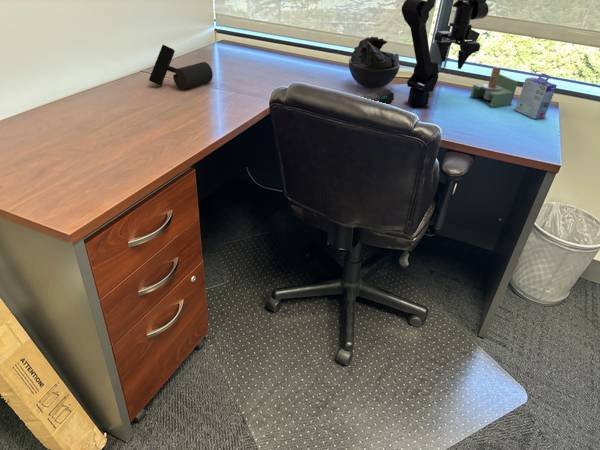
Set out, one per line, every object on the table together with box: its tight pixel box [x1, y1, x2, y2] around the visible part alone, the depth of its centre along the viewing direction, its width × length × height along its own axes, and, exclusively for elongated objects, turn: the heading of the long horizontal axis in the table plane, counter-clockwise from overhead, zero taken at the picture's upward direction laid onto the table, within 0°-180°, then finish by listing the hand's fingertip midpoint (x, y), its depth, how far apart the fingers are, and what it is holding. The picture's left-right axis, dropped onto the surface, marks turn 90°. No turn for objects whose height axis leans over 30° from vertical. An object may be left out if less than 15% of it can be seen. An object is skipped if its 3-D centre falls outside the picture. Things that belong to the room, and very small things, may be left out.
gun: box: [362, 88, 395, 105], centre depth 166 cm, size 4×20×10 cm, turn 109°
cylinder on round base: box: [482, 65, 502, 101], centre depth 179 cm, size 7×7×12 cm
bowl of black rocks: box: [348, 36, 401, 90], centre depth 184 cm, size 20×20×19 cm
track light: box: [148, 44, 214, 91], centre depth 178 cm, size 15×14×20 cm
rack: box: [470, 73, 519, 108], centre depth 181 cm, size 10×12×9 cm
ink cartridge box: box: [514, 72, 558, 120], centre depth 169 cm, size 10×6×14 cm, turn 28°
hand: (451, 65), depth 175 cm, fingers open, 9 cm apart
